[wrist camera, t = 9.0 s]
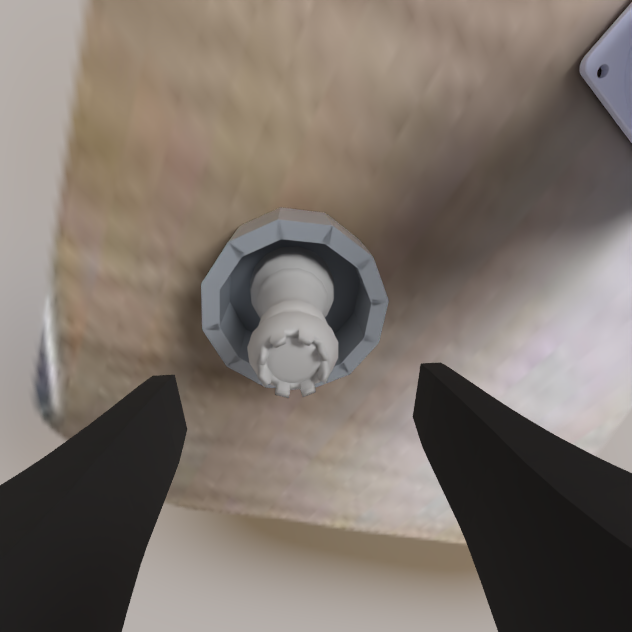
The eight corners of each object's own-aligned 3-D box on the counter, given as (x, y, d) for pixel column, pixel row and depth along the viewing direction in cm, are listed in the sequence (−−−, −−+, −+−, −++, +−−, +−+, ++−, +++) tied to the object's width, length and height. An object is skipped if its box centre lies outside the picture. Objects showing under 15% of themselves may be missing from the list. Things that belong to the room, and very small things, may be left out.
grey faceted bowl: (400, 271, 19) (422, 295, 16) (310, 375, 22) (313, 413, 19) (274, 172, 16) (270, 177, 13) (188, 304, 19) (168, 334, 16)
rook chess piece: (323, 234, 17) (347, 291, 10) (340, 310, 19) (369, 404, 12) (239, 254, 18) (204, 325, 10) (264, 328, 19) (249, 431, 12)
